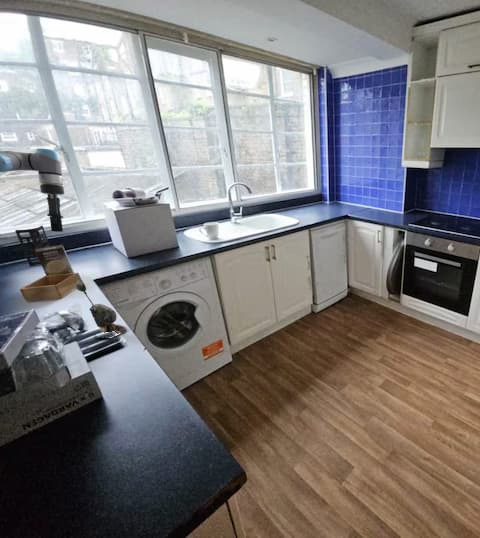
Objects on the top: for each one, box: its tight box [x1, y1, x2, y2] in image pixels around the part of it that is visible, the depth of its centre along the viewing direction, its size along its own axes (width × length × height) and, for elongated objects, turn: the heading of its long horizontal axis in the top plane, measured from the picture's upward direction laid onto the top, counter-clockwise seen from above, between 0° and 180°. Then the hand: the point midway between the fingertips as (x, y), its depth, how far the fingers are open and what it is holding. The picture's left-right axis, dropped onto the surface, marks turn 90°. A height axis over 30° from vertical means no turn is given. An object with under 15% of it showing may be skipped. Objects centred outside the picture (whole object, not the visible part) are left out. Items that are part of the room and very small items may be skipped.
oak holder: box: [19, 272, 82, 303], centre depth 125 cm, size 13×14×6 cm
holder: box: [15, 224, 51, 267], centre depth 157 cm, size 11×8×20 cm
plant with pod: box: [76, 278, 128, 335], centre depth 92 cm, size 8×11×20 cm
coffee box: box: [35, 244, 75, 276], centre depth 135 cm, size 9×6×16 cm
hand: (57, 231), depth 137 cm, fingers open, 13 cm apart
